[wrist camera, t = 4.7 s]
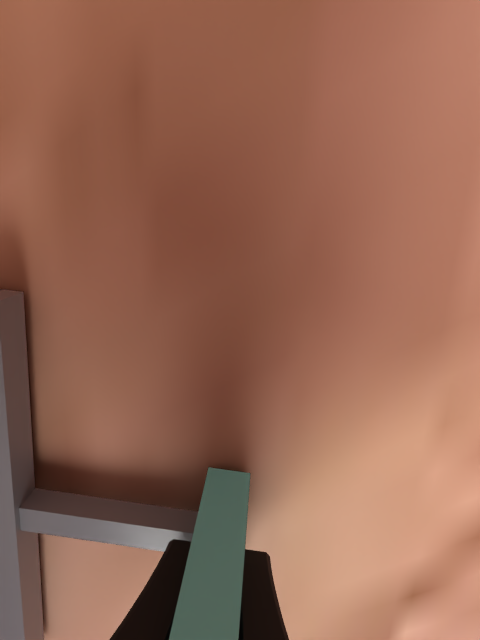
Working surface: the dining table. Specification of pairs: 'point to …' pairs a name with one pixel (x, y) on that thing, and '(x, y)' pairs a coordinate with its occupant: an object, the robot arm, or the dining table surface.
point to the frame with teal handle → (107, 518)
